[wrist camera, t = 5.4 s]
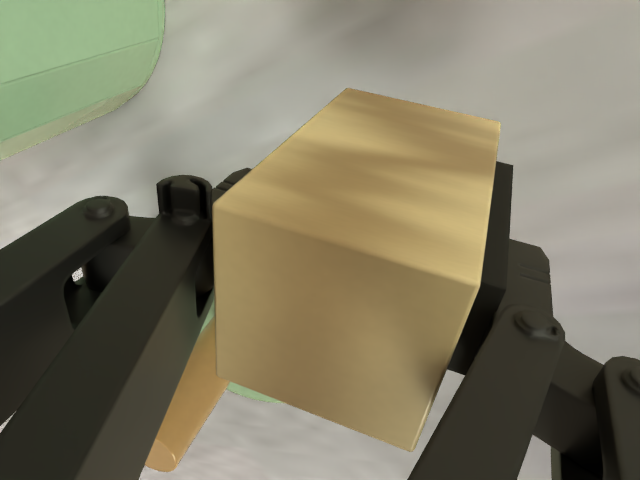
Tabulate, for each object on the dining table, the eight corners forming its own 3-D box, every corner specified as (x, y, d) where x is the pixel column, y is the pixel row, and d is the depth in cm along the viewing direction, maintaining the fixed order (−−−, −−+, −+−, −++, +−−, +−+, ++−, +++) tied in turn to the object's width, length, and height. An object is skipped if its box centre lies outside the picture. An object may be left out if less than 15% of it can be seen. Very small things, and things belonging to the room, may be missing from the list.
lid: (399, 318, 26) (347, 491, 18) (285, 417, 34) (215, 565, 26) (194, 168, 25) (44, 277, 17) (129, 306, 34) (8, 423, 26)
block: (501, 121, 14) (482, 284, 8) (456, 252, 17) (412, 455, 11) (346, 86, 16) (209, 202, 9) (328, 215, 18) (214, 377, 12)
